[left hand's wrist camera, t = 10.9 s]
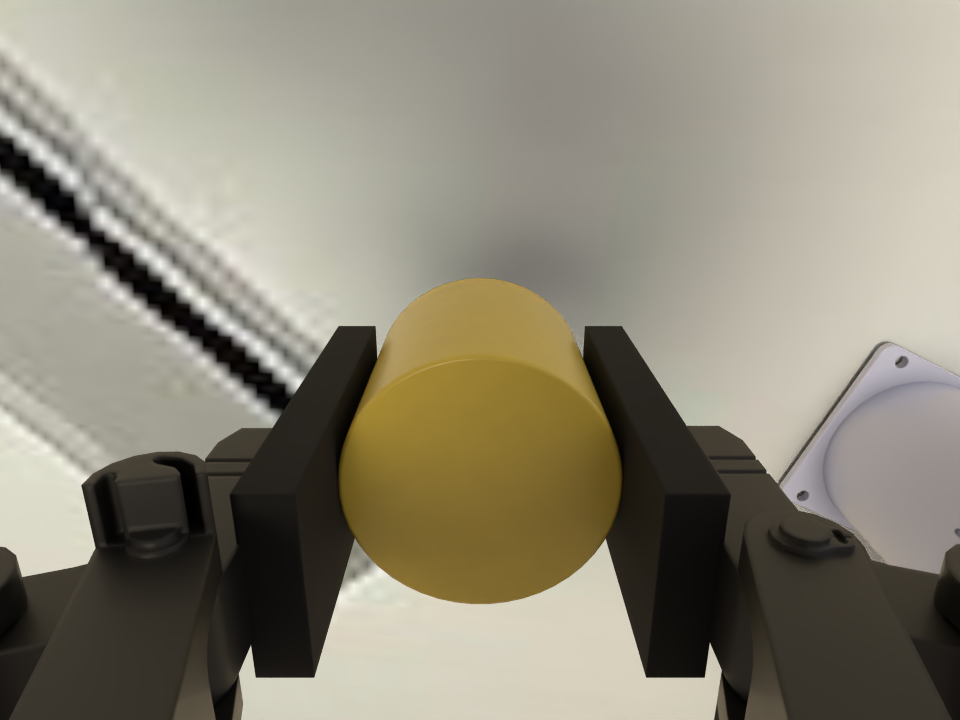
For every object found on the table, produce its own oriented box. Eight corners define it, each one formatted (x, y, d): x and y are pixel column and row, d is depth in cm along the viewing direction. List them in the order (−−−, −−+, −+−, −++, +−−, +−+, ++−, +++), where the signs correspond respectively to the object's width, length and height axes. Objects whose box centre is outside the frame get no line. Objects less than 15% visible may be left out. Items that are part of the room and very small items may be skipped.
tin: (366, 446, 15) (321, 582, 11) (395, 258, 14) (357, 329, 9) (554, 479, 15) (584, 625, 11) (603, 298, 14) (658, 385, 10)
